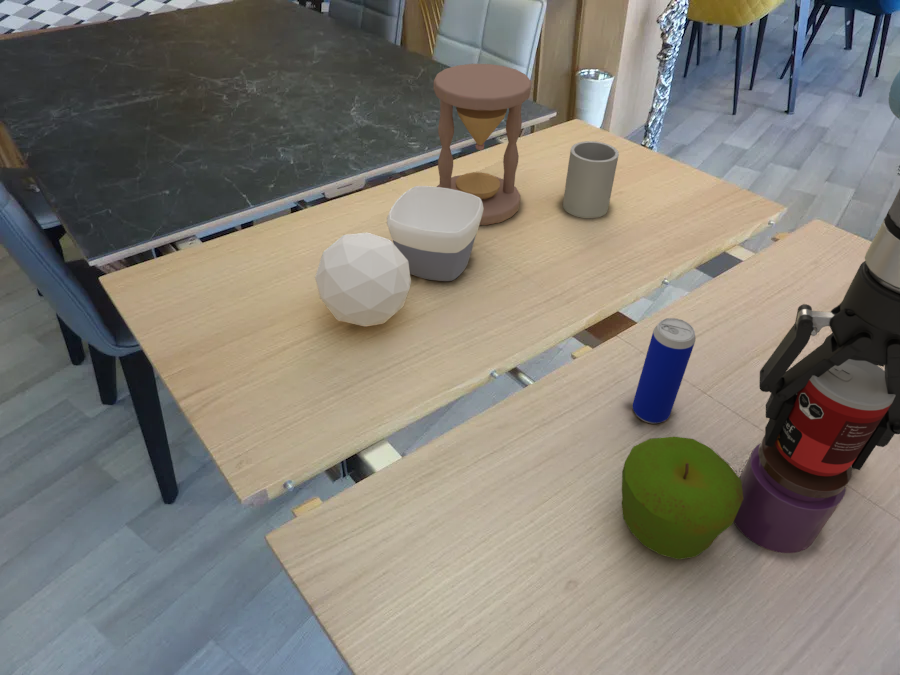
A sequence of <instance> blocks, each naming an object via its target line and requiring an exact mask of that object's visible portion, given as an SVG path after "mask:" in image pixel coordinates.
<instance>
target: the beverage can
mask: <svg viewBox="0 0 900 675" xmlns="http://www.w3.org/2000/svg"><path fill="white" fill-rule="evenodd" d="M695 343H696V331H695V328H694V327H693V325H691V324H690V323H689V322H687V321H686V320H684V319H680V318H675V317H668V318H667V317H666V318H664V319H661V320H660V321H659V322H657V324H656V326H655V327H653V330H652V334H651V338H650V341H649V345H648V349H647V352H646V355H645V359H644V362H643V366H642V370H641V373H640V376H639V380H638V383H637V386H636V391H635V394H634V397H633V400H632V401H633V402H632V410H633V412H634V414H635V415H636V417H637V418H638V419H640V420H641V421H643V422H644V423H649V424H652V425H653V424H654V425H655V424H660V423H662V422H663V423H664V422H665V421H667V420H668V419H669V418H670V416H671V414H672V413H671V412H672V410H673V407H674V405H675V402H676V399H677V396H678V393H679V390H680V387H681V385H682V381H683V379H684V375H685V372H686V371H687V366H688V364H689V361H690V358H691V355H692V352H693V350H694V346H695Z"/></svg>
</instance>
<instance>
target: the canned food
mask: <svg viewBox="0 0 900 675" xmlns="http://www.w3.org/2000/svg"><path fill="white" fill-rule="evenodd" d="M895 396H896V395H895V394H888V392H887V387H886V381H885V369H883V368H882V367H881V366H878V365H874V364H872V363H869V362H867V361H856V360H851V359H848V360H847V361H845V362H844V363H843V364H841V365H840V366H836V365H835V366H833V367H832V368H831V369H829V370H828V371H826V372H825V373H824V374H822V375H821V376H820V377H817V376H812V377H811V378H810V379H809V381H808V383H807V385H806V387H804V388H803V389H802V390H800V391H799V392H797V393H796V394H795V395H793V398H794V406H793V408H792V410H791V412H790V414H789V416H788V418H787V420H786V422H785V424H784V426H783V428H782V430H781V432H780V433H779V435H778V437H777V439H776V441H775V444H776V447H777V449H778V450H779V452H780V453H781V455H782V456H783V457H784V458H785V459H786V460H787V461H788V462H790V463H791V464H793V465H794V466H795V467H797V468H799V469H801V470H803V471H805V472H808V473H810V474H814V475H819V476H835V475H838V474H840V473H842V472H844V471H846V470H847V469H848V468H849V467H850V466H851V465H852V464H853V462H854V461H855V459H856V458H857V456H858V455H859V453H860V452H861V450H862V449H863V447H864V446H865V444H866V443H867V441H868V440H869V438H870V437H871V435H872V434H873V432H874V431H875V429H876V428H877V426H878V424H879V423H880V421H881V420H882V418H883V417H884V415H885V414H886V412H887V411H888V409H889V407H890V406H891V404H892V403H893V400H894V398H895Z"/></svg>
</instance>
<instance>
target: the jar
mask: <svg viewBox="0 0 900 675" xmlns="http://www.w3.org/2000/svg"><path fill="white" fill-rule="evenodd" d="M852 475H853V468H852V467H851V466H850V467H849V468H848V469H847V470H846V471H844V472H842V473H840V474H838V475H835V476H819V475H814V474H810V473H808V472H805V471H803V470H801V469H799V468H797V467H795V466H794V465H793V464H791V463H790V462H788V461H787V460H786V459H785V458H784V457H783V456H782V455H781V453H780V452H779V450H778V449H777V447H776V444H775V443H774V445H773V447H770V446H766V445H765V435H763V438H762V439H761V442H759V443H758V444H757V445H755V447H753V449H752V451H751V453H750V454H749V457H748V459H747V461H746V462H745V465H744V467H743V469H742V472H741V473H740V476H738V477H739V478H740V480H741V483H742V491H743V501H742V503H741V506H740V508H739V510H738V513H737V515H736V517H735V519H734V522H733V524H734V525H735V526H736V528H737V529H738V530H739V531H740V532H741V533H742V534H743V535H744V536H745V537H746V538H747V539H748V540H750V541H752V542H753V543H754V544H756V545H758V546H759V547H761V548H764V549H766V550H769V551H772V552H776V553H780V554H795V553H801V552H803V551H805V550H807V549H808V548H810V547H811V546H812V545H813V544H814V542H815V541H816V540H817V538H818V536H819V535H820V534H821V532H822V530H823V529H824V528H825V526H826V525H827V523H828V521H829V520H830V518H831V517H832V515H833V514H834V513H835V511H836V509H837V508H838V506H839V505H840V504H841V502H842V500H843V499H844V497H845V495H846V489H847V485H848V484H849V482H850V481H851V478H852Z"/></svg>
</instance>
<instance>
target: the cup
mask: <svg viewBox="0 0 900 675" xmlns="http://www.w3.org/2000/svg"><path fill="white" fill-rule="evenodd" d="M619 154H620V153H619V151H618V149H617V148H616V147H614V146H613V145H611V144H608V143H605V142H602V141H596V140H595V141H594V140H585V141H580V142H577V143H575V144H573V145H571V147H570V151H569V159H568V163H567V164H568V166H567V172H566V179H565V185H564V193H563V200H562V208H563V210H564V211H565V212H566V213H567V214H570V215H572V216H574V217H577V218H582V219H598V218H601V217H603V216H605V215H606V214H607V213H608V210H609V207H610V201H611V197H612V192H613V185H614V180H615V176H616V171H617V165H618V160H619V156H620V155H619Z"/></svg>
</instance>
